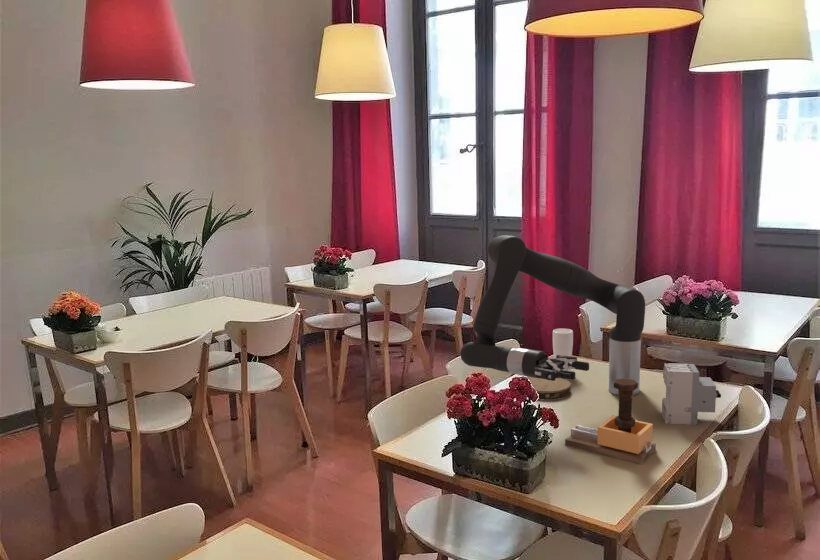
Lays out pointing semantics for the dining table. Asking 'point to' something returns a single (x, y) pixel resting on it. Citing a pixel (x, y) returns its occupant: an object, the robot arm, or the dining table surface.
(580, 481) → the dining table surface
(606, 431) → the orange open box
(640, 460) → the rail board
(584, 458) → the dining table surface
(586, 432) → the rail
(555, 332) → the drinking glass
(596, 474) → the dining table surface
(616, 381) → the bolt
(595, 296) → the robot arm
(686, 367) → the circuit breaker
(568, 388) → the brown round disc
